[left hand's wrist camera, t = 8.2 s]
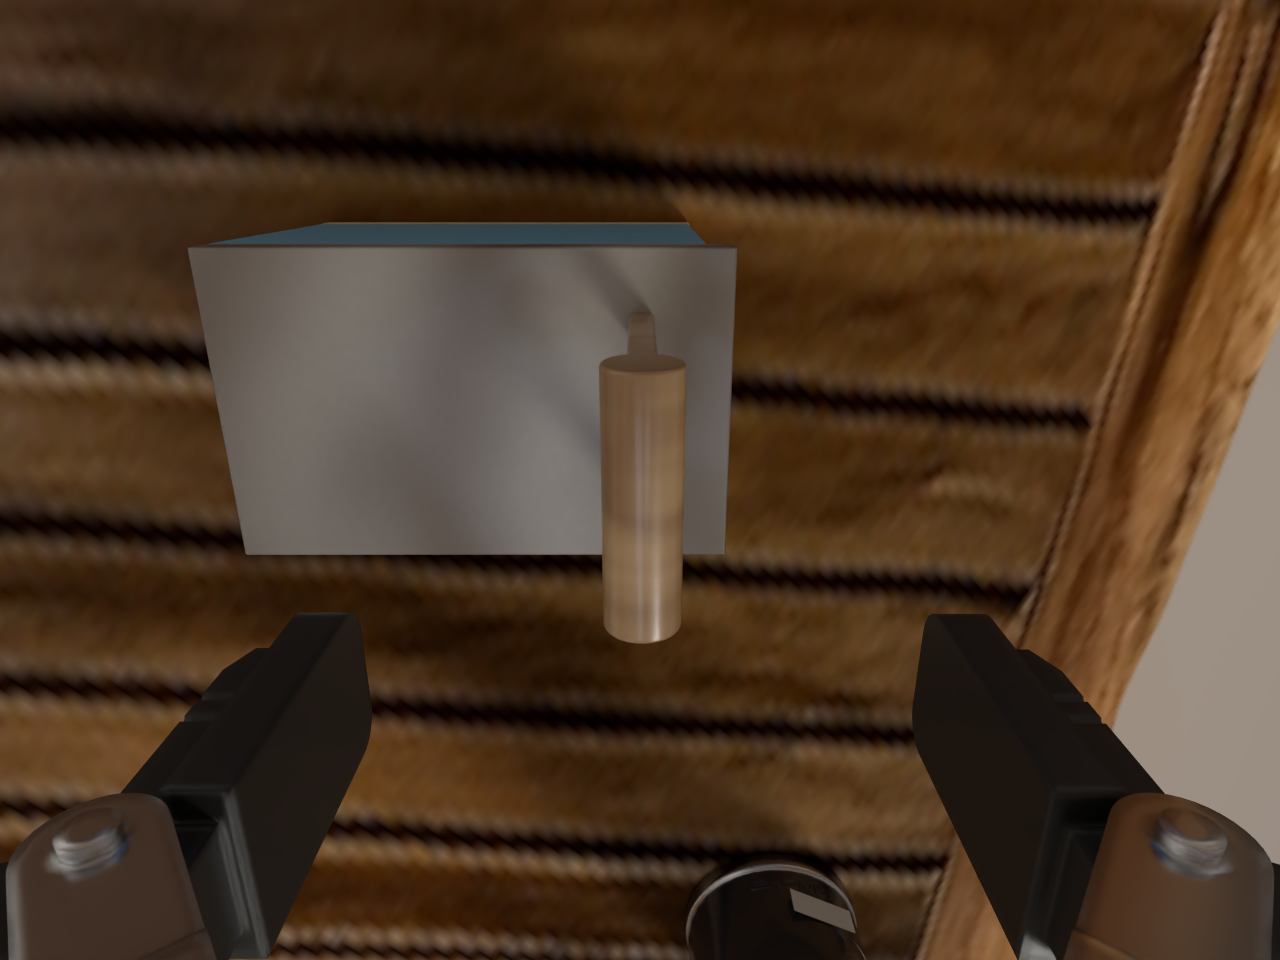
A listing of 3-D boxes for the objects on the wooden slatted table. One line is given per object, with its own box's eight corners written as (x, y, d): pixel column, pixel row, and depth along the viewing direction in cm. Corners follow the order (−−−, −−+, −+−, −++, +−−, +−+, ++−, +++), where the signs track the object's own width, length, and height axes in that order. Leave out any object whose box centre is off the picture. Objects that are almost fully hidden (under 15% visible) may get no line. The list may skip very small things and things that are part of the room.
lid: (733, 243, 23) (785, 284, 15) (721, 541, 27) (758, 708, 18) (204, 243, 23) (-34, 284, 15) (259, 541, 27) (89, 708, 18)
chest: (687, 222, 33) (707, 243, 23) (683, 444, 36) (699, 540, 27) (329, 222, 33) (205, 243, 23) (358, 444, 36) (259, 541, 27)
